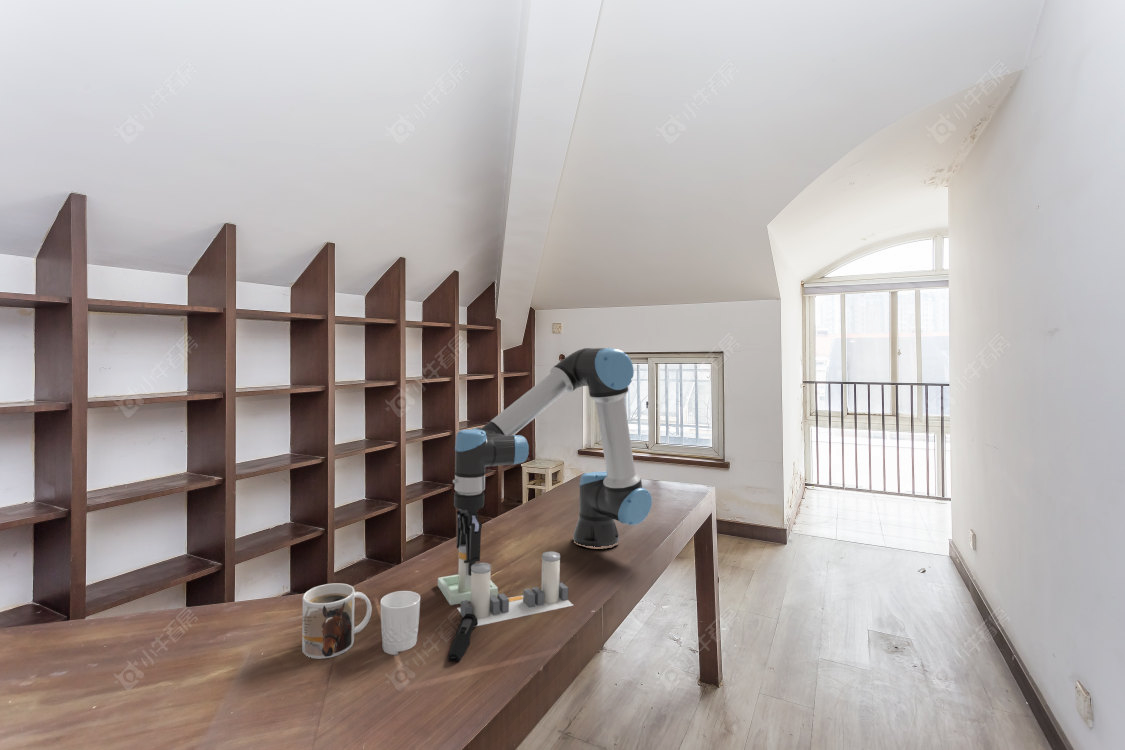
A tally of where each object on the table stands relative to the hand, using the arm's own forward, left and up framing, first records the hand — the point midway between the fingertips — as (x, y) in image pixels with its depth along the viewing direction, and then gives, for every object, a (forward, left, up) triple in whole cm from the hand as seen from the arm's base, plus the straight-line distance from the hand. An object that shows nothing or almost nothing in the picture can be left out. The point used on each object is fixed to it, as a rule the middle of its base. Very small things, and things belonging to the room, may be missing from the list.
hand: (467, 582), depth 136 cm
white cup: (+20, +18, -3) cm, 27 cm away
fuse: (+1, +13, -2) cm, 13 cm away
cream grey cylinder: (-17, +13, -2) cm, 22 cm away
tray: (0, 0, -3) cm, 3 cm away
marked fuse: (0, 0, -2) cm, 2 cm away
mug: (+32, +12, -3) cm, 34 cm away
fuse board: (-8, +13, -3) cm, 16 cm away
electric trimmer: (+8, +23, -3) cm, 24 cm away
